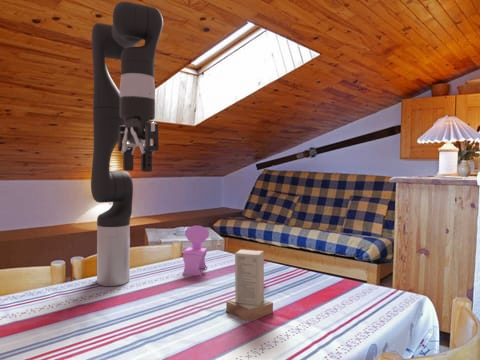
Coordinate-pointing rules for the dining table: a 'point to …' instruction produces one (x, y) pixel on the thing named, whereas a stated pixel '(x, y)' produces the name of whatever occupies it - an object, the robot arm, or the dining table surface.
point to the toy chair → (195, 250)
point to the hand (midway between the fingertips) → (136, 171)
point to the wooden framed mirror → (249, 309)
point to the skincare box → (249, 276)
